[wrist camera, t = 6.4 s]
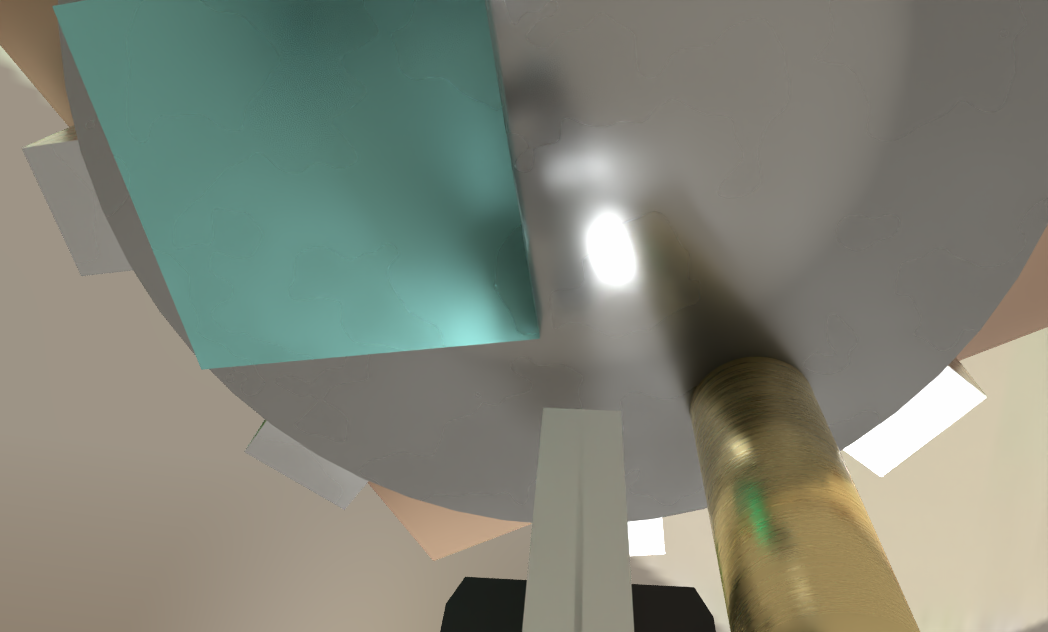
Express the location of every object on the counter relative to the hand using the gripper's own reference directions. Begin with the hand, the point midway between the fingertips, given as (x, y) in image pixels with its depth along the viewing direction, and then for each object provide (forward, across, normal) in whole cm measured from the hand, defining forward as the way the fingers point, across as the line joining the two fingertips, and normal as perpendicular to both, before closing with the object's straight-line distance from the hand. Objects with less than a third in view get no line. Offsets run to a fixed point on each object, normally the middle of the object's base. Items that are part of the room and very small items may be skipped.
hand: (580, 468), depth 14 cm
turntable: (+4, -1, +6) cm, 7 cm away
